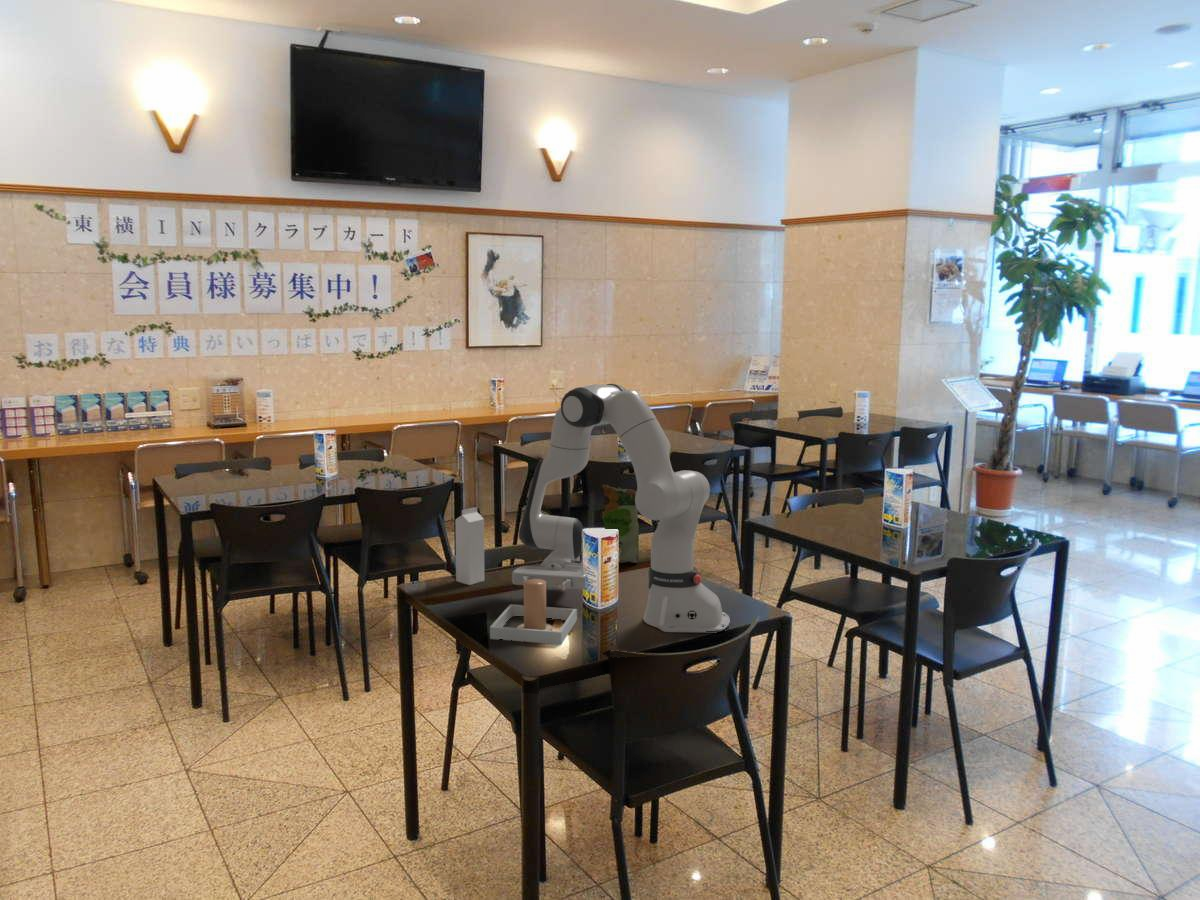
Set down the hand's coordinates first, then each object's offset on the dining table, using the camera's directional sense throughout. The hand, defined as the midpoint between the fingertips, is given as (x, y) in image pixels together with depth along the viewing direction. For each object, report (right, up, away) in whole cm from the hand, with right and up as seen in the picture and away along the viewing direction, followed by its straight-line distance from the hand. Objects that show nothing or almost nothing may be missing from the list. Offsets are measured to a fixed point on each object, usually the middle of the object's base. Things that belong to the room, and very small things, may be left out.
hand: (543, 586), depth 242 cm
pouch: (+21, -1, +54) cm, 58 cm away
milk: (-24, -3, +32) cm, 40 cm away
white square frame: (-2, -10, -8) cm, 13 cm away
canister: (-2, -9, -8) cm, 12 cm away
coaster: (-2, -10, -8) cm, 13 cm away
